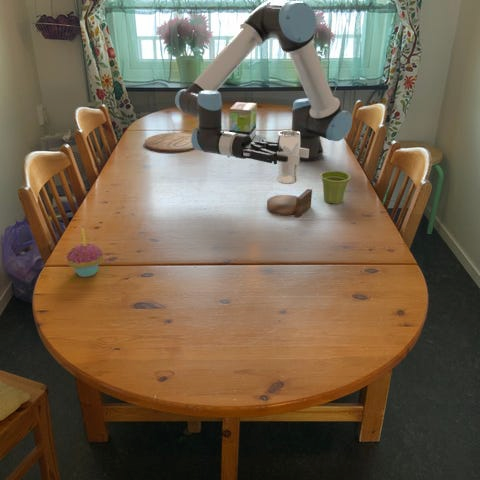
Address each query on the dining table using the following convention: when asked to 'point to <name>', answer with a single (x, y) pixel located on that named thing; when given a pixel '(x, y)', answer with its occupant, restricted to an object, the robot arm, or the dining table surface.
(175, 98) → the robot arm
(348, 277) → the dining table surface
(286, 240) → the dining table surface
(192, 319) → the dining table surface
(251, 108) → the tea box
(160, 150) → the trivet
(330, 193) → the plant pot
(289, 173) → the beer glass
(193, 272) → the dining table surface
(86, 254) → the cupcake
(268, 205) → the walnut base
